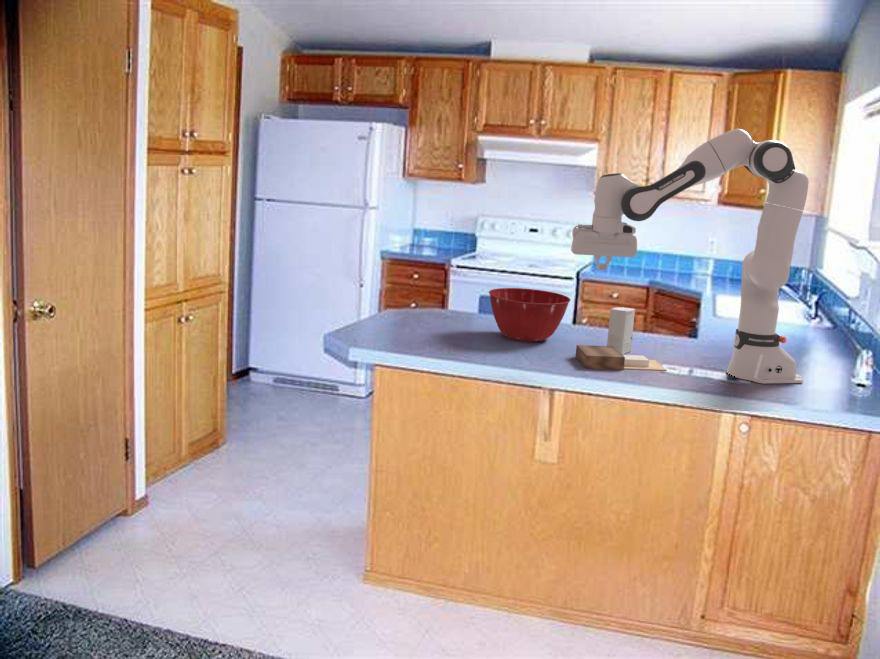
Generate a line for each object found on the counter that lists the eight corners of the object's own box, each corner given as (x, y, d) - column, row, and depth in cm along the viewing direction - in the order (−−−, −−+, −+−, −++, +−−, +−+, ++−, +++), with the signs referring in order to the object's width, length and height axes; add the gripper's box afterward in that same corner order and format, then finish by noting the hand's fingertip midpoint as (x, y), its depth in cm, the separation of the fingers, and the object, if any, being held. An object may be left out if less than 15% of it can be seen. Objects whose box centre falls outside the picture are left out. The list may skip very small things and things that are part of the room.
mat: (654, 361, 284) (654, 360, 284) (666, 370, 273) (666, 369, 273) (612, 359, 283) (612, 358, 283) (622, 368, 271) (622, 367, 271)
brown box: (611, 358, 284) (613, 346, 283) (623, 369, 270) (624, 357, 270) (575, 356, 283) (576, 344, 282) (585, 368, 270) (586, 355, 269)
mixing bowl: (564, 332, 319) (568, 291, 316) (568, 350, 291) (572, 305, 288) (487, 326, 322) (490, 285, 318) (483, 343, 294) (486, 298, 291)
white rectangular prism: (643, 361, 281) (643, 355, 281) (648, 366, 275) (649, 360, 275) (615, 360, 280) (616, 354, 280) (620, 365, 274) (621, 359, 274)
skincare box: (622, 355, 289) (626, 311, 286) (605, 352, 292) (609, 308, 289) (631, 351, 296) (636, 308, 293) (614, 348, 299) (619, 305, 296)
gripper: (575, 225, 268) (571, 269, 271) (640, 228, 269) (636, 273, 272) (571, 223, 274) (567, 266, 277) (635, 226, 275) (630, 270, 278)
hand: (601, 270), depth 274 cm, fingers closed
